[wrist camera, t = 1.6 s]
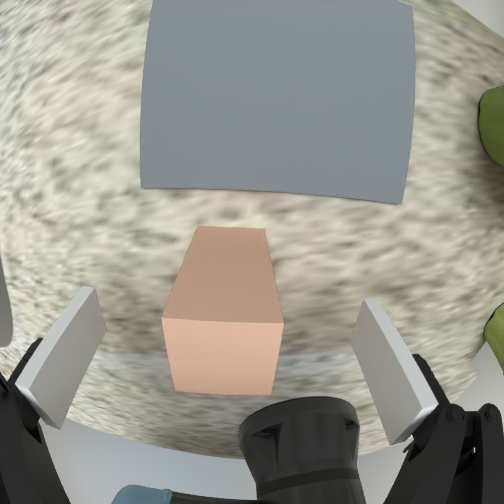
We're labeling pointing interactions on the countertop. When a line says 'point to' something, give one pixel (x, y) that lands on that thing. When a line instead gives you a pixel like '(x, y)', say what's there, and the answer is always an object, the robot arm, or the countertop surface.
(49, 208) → the countertop surface
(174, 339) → the block
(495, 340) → the plant pot
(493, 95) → the plant pot
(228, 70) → the mat
